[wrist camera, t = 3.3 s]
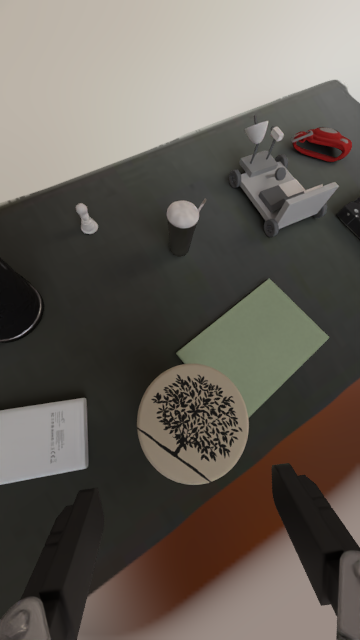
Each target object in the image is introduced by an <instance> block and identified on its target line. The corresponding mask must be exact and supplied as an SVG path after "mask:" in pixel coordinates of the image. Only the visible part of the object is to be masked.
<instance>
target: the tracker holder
mask: <svg viewBox="0 0 360 640" xmlns="http://www.w3.org/2000/svg"><path fill="white" fill-rule="evenodd" d="M291 140H292V143H293V146H294V148H295V149H296V150H297V151H299V152H301V153H302V154H305V155H307V156H311V157H314V158H318V159H321V160H324V161H328V162H334V161H337V160H340V159H342V158H344V157H345V156H346V155H347V154H348V153H349V152H350V150H351V148H352V142H351V141H350V140H349V139H347V138H346V137H344V136H341V134H340V133H339V132H338V131H336V130H334V129H330V128H324V127H320V128H317V129H312V130H308V131H307V132H299V133H297V134H296V135H295V136H293V137H292V138H291ZM305 140H307V141H309V142H311V143H314V144H319V145H324V146H330V147H335V148H338V149H340V150H341V151H342V154H341V155H340V156H339V157H337V158H335V157H331V156H327V155H324V154H320V153H317V152H313V151H310V150H306V149H303V148H301V147H299V146H297V145H296V142H297V141H299V142H301V143H303V142H305Z"/></svg>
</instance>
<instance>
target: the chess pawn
mask: <svg viewBox="0 0 360 640" xmlns="http://www.w3.org/2000/svg"><path fill="white" fill-rule="evenodd" d="M76 211H77V213H78V214H79V215H80V217H81V218H82V220H81V230H82V231H83V232H84V233H86V234H92V233H95V232H96V231H97V229H98V225H97V223H96V222H95V221H94V220H93V219H92V218H91V217H89V214H88V213H87V211H88V209H87V207H86V205H84V204H82V203H79V204H78V205H77V206H76Z"/></svg>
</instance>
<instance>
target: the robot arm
mask: <svg viewBox="0 0 360 640" xmlns="http://www.w3.org/2000/svg"><path fill="white" fill-rule="evenodd" d="M25 280H26V279H24V278H23V277H22V276H20V275H19V274H18V273H16V272H15V271H14V270H13V269H12V268H11V267H10V266H9V265H8V264H7V263H6V262H5V261H4V260H2V259H1V258H0V343H6V342H12V341H16V340H19V339H21V338H23V337H25V336H26V335H28V334H29V333H30V332H32V331H33V330H34V329H35V328H36V326H37V325H38V324H39V322H40V320H41V318H42V315H43V311H44V304H43V299H42V297H41V295H40V294H39V292H38V291H37V290H36V289H35V288H34V287H32V286H31V285H32V284H31V283H30V282H28V281H27V280H26V281H27V282H28V283H30V284H31V285H29V284H28V283H27V282H26V281H25ZM272 492H273V498H274V502H275V505H276V508H277V510H278V512H279V515H280V517H281V519H282V521H283V524H284V525H285V528H286V530H287V532H288V534H289V537H290V539H291V541H292V543H293V545H294V548H295V550H296V552H297V554H298V556H299V558H300V561H301V563H302V565H303V567H304V569H305V572H306V574H307V576H308V578H309V580H310V583H311V585H312V587H313V589H314V591H315V593H316V595H317V598H318V600H319V602H320V604H321V605H329V604H331V605H332V607H333V609H334V611H335V613H336V616H337V640H360V547H359V546H358V545H357V543H356V542H355V540H354V539H353V537H352V536H351V535H350V533H349V532H348V530H347V529H346V527H345V526H344V524H343V523H342V521H341V520H340V519H339V517H338V516H337V514H336V513H335V511H334V510H333V509H332V508H331V506H330V504H329V503H328V501H327V500H326V498H324V496H323V494H322V493H321V491H320V490H319V488H318V487H317V485H316V484H315V483H314V482H312V481H311V480H310V479H309V478H308V477H306V476H305V475H300V476H297V474H296V473H295V471H294V469H293V468H292V466H291V465H290V464H289V463H287V464H279V465H272ZM103 527H104V514H103V509H102V504H101V500H100V495H99V490H98V488H93V489H85V490H80V491H79V492H78V494H77V497H76V499H75V502H74V504H73V505H71V506H66V507H65V508H64V510H63V511H62V512H61V513H60V515H59V516H58V517H57V518H56V521H55V523H54V525H53V527H52V530H51V532H50V535H49V536H48V539H47V541H46V543H45V547H44V548H43V550H42V552H41V555H40V557H39V559H38V561H37V564H36V566H35V568H34V570H33V573H32V575H31V577H30V580H29V582H28V584H27V586H26V589H25V591H24V593H23V595H22V597H21V599H20V601H19V602H17V603H16V604H15V605H14V606H12V607H11V608H10V609H9V610H8V611H7V612H6V614H5V615H4V616H3V617H2V619H1V620H0V640H77V636H78V632H79V628H80V623H81V620H82V615H83V611H84V608H85V603H86V599H87V595H88V591H89V587H90V583H91V579H92V575H93V570H94V566H95V562H96V558H97V554H98V550H99V546H100V542H101V537H102V533H103Z"/></svg>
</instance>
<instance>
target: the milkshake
mask: <svg viewBox="0 0 360 640" xmlns="http://www.w3.org/2000/svg"><path fill="white" fill-rule="evenodd" d="M205 202H206V198H205V199H204V201H203V202H202V204H201V205H200V207H199V208H198V209H197V208H196V206H195V205H194V204H192V203H191V202H188V201H176V202H173V203H172V204H171V205H170V206H169V208H168V210H167V221H168V230H169V244H170V251H171V253H172V254H173V255H175V256H178V257H181V256H185V255H186V254H187V253H188V251H189V248H190V244H191V241H192V238H193V234H194V231H195V228H196V225H197V222H198V219H199V211H200V210H201V208H202V207H203V205H204V204H205Z"/></svg>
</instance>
